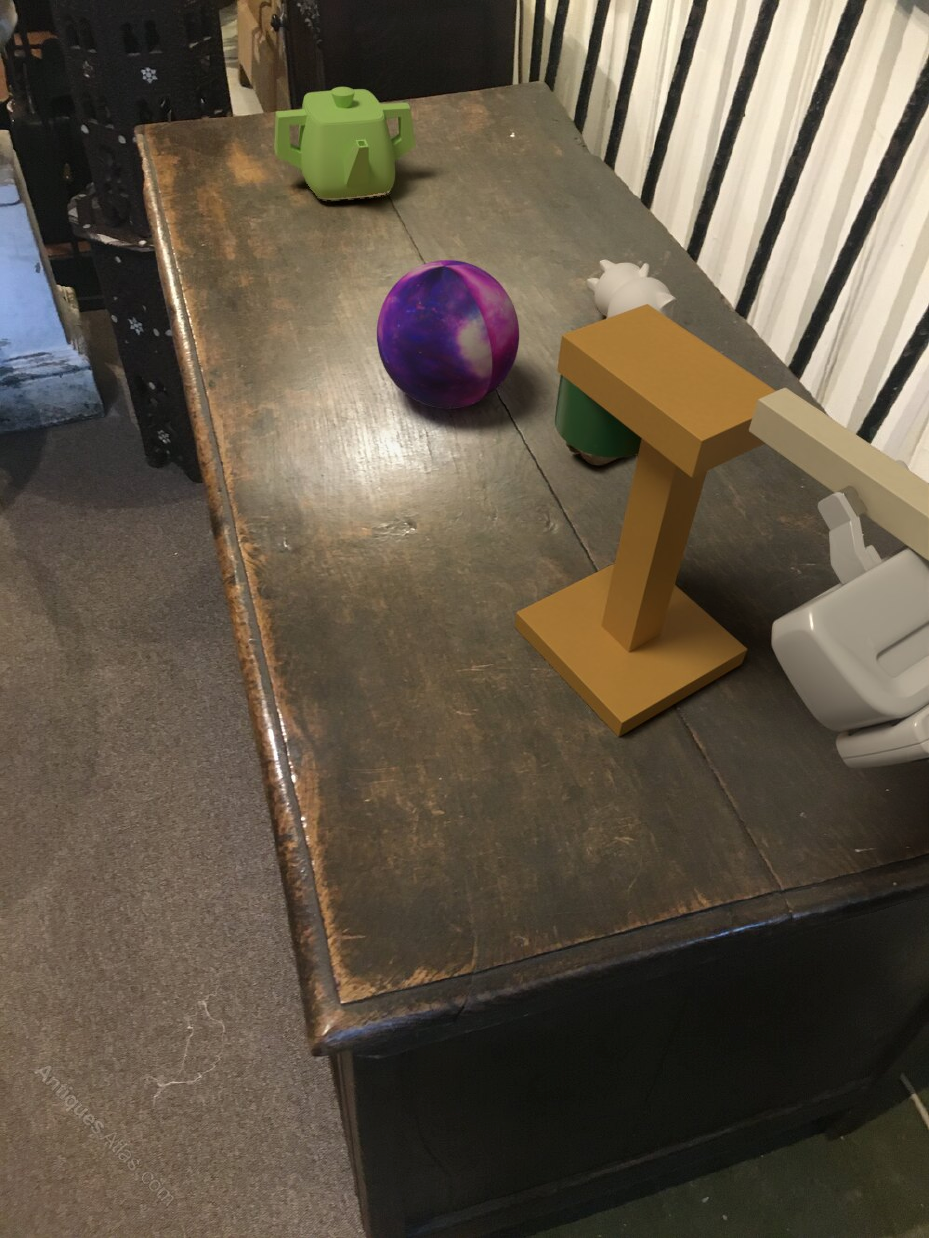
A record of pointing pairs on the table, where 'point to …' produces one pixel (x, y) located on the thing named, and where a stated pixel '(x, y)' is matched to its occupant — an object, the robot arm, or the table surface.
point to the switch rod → (846, 465)
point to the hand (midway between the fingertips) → (858, 480)
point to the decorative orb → (448, 334)
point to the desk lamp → (644, 512)
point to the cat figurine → (629, 290)
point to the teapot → (345, 142)
